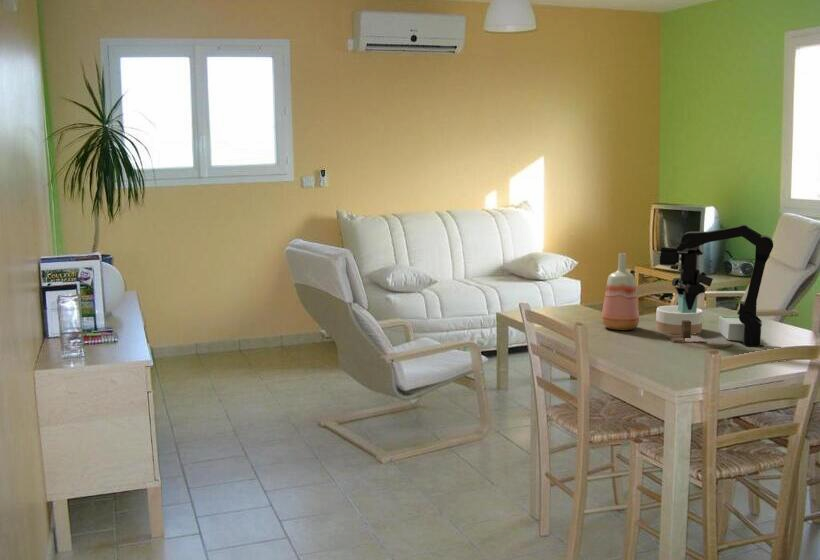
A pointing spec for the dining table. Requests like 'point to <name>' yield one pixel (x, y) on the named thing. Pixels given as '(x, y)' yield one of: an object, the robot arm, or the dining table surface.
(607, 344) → the dining table surface
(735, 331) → the skincare box
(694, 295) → the robot arm
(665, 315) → the bowl
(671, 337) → the post block
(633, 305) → the vase
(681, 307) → the teal tilted box
